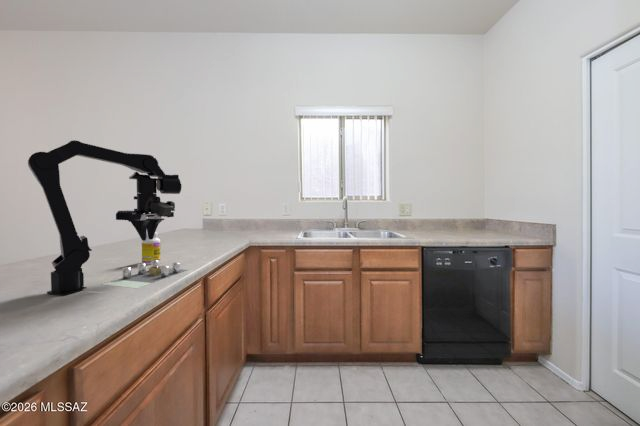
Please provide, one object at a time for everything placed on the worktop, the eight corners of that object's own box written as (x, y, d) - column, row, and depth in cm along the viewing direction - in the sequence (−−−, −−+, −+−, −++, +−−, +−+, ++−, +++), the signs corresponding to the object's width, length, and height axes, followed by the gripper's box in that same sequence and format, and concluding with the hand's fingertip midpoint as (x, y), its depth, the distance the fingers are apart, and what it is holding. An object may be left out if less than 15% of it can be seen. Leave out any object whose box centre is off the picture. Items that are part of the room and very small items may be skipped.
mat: (136, 289, 88) (136, 288, 88) (101, 285, 91) (101, 284, 91) (188, 271, 110) (188, 270, 110) (158, 268, 113) (158, 267, 113)
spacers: (152, 282, 94) (152, 271, 94) (120, 279, 97) (120, 268, 97) (183, 271, 108) (183, 261, 108) (154, 268, 111) (154, 259, 111)
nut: (157, 276, 101) (157, 269, 101) (145, 275, 102) (145, 268, 102) (165, 273, 105) (165, 266, 105) (154, 272, 106) (154, 265, 106)
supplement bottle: (154, 265, 118) (154, 233, 117) (138, 265, 118) (137, 233, 117) (163, 262, 124) (163, 231, 124) (148, 261, 124) (147, 231, 124)
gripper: (144, 193, 88) (145, 245, 88) (186, 194, 106) (186, 237, 106) (113, 192, 90) (114, 243, 91) (160, 193, 108) (160, 236, 109)
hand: (147, 239), depth 99 cm, fingers open, 3 cm apart
